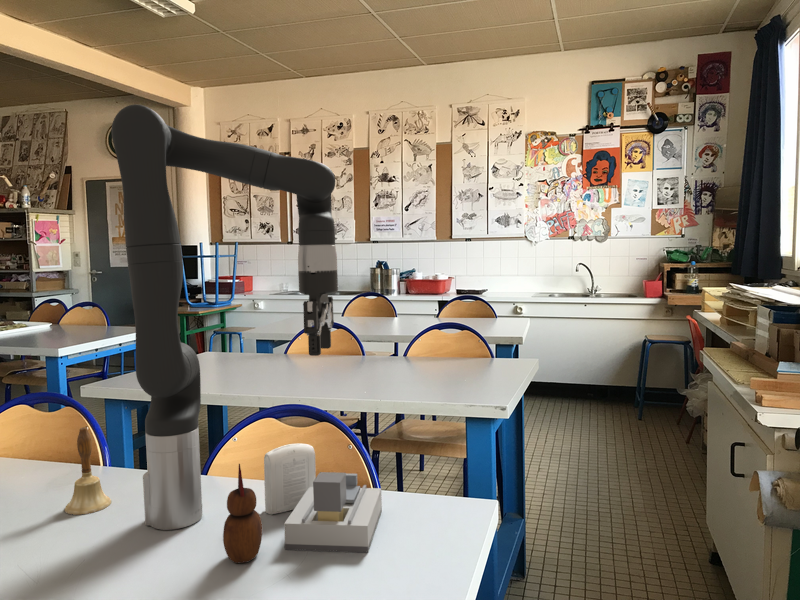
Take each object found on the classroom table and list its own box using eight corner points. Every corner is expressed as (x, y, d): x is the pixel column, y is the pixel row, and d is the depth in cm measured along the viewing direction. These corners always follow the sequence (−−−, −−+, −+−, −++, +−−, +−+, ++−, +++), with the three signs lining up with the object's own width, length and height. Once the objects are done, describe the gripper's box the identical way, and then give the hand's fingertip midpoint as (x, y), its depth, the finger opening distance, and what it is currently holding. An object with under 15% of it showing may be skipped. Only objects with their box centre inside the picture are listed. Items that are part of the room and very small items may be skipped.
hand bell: (114, 507, 119) (110, 428, 118) (67, 518, 114) (61, 436, 113) (107, 494, 126) (103, 419, 125) (62, 504, 121) (57, 426, 120)
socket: (285, 549, 100) (284, 520, 100) (310, 509, 116) (309, 483, 116) (368, 552, 99) (367, 522, 98) (381, 511, 114) (381, 485, 114)
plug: (314, 539, 101) (313, 481, 101) (321, 527, 106) (319, 472, 105) (341, 540, 101) (340, 482, 100) (347, 528, 105) (345, 472, 105)
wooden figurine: (232, 547, 101) (229, 460, 100) (266, 547, 101) (263, 460, 100) (219, 568, 95) (215, 475, 94) (255, 568, 94) (252, 474, 93)
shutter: (318, 502, 108) (318, 487, 107) (328, 486, 115) (327, 473, 115) (354, 502, 107) (353, 488, 107) (361, 487, 114) (360, 473, 114)
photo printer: (310, 497, 122) (308, 437, 121) (319, 504, 118) (318, 442, 118) (262, 509, 116) (259, 447, 116) (270, 517, 113) (267, 453, 112)
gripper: (308, 268, 124) (310, 346, 125) (288, 270, 110) (291, 358, 111) (344, 267, 123) (346, 346, 124) (328, 269, 109) (331, 357, 110)
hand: (320, 351), depth 118 cm, fingers open, 8 cm apart
